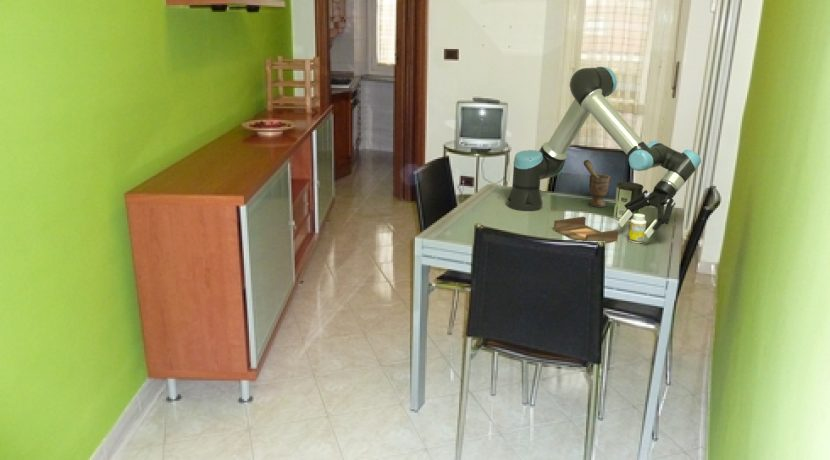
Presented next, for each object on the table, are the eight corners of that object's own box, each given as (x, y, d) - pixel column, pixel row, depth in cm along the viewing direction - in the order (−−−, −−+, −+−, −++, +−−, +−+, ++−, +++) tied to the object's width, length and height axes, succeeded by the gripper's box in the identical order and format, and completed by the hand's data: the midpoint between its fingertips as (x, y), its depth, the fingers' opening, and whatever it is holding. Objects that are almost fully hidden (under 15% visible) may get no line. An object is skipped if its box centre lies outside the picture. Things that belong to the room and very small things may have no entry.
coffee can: (637, 215, 277) (641, 182, 273) (640, 222, 267) (644, 189, 263) (611, 213, 279) (615, 181, 274) (613, 220, 269) (617, 187, 265)
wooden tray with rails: (553, 230, 255) (554, 220, 254) (582, 226, 261) (583, 216, 260) (587, 246, 239) (588, 235, 238) (617, 241, 245) (618, 231, 244)
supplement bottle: (631, 237, 249) (635, 211, 246) (646, 241, 246) (649, 214, 243) (625, 241, 245) (628, 214, 242) (640, 244, 242) (643, 218, 239)
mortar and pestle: (587, 208, 285) (592, 163, 278) (576, 203, 292) (581, 158, 286) (610, 207, 288) (616, 161, 282) (599, 201, 296) (604, 157, 290)
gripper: (699, 201, 236) (662, 246, 235) (647, 184, 257) (613, 226, 255) (691, 188, 232) (653, 234, 231) (639, 172, 253) (604, 214, 251)
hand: (632, 230), depth 243 cm, fingers open, 13 cm apart
